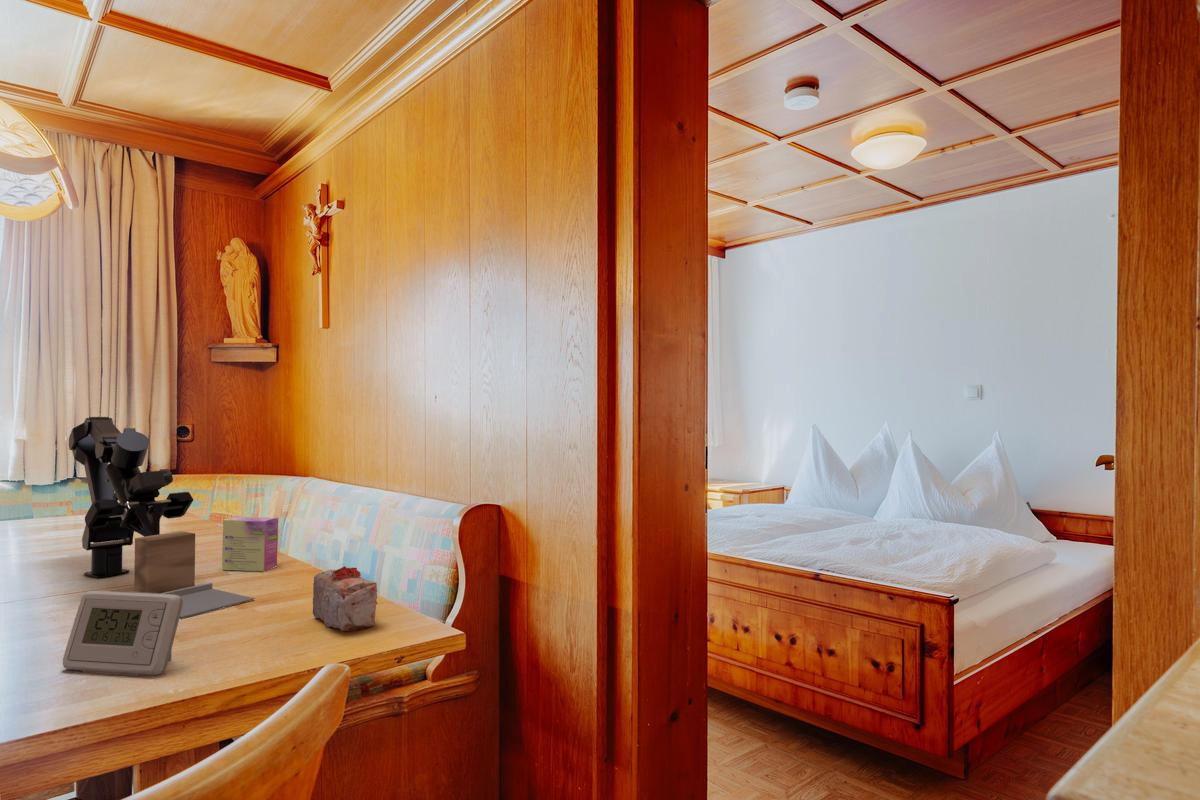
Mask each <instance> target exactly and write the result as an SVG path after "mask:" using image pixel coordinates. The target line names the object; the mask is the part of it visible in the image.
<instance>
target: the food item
mask: <svg viewBox="0 0 1200 800" xmlns="http://www.w3.org/2000/svg"><path fill="white" fill-rule="evenodd" d="M361 576H362V574H361V571H359V570H358V568H357V567H347V566H342V567H340V568H338V569H328V570H326V571H322V572H319V573H317V574H315V575H314V576H313V584H312V585H313V591H312V593H313V594H312V595H313V596H312V615H313V617H314V618H317V619H320V620H321V621H323V622H324V627H326V628H335V629H338V630H340V631H341V632H351V631H357V630H364V629H368V628H372V627H374V626H375V624H376V610H377V605H378V601H377V599H378V587H377V584H378V583H377V582H375V581H372V580H369V579H366V578H364V577H361Z"/></svg>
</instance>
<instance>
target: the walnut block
mask: <svg viewBox="0 0 1200 800" xmlns="http://www.w3.org/2000/svg"><path fill="white" fill-rule="evenodd" d="M133 574H134V578H133V584H134V585H133V586H134V587H133V592H148V593H165V592H169V591H174V590H178V589H183V588H187V587H192V586H196V584H195V583H196V579H195V578H196V577H195V576H196V575H195V574H196V533H194V532H188V531H183V530H179V531H174V532H168V533H167V532H166V533H160V534H159V535H152V536H146V537H144V536H140V537H135V538H134V573H133Z"/></svg>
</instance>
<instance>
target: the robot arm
mask: <svg viewBox="0 0 1200 800" xmlns="http://www.w3.org/2000/svg"><path fill="white" fill-rule="evenodd" d="M149 446H150V438H149V437H148V436H146V435H145V434H144V433H142V432H139V431H137V430H136V427H134V428H133V427H127V428H126V427H125V428H124V429H123V431H122V432H121V431H120V430H119V428H118V427H117V426H116V425H115V424H114V421H113V418H112V417H109V416H88V417H85V419H84V422H82V423H81V424H79V425H77V426H75V427H73V428H72V429H71V431H70V434H69V437H68V449H69V451H71V452H72V456H73V458H74V460H75V461H77V462H79V463H80V464H81V465H83V467H84V471H85V476H86V481H87V486H88V490H89V496H90V500H91V505H90V506H89V509H88V511H87V513H86V515H85V516H84V523H85V526H84V530H83V532H82V533H83V534H82V537H81V542H82V543H81V545H82V548H83V549H84V550H86V551H91V557H90V558H91V559H90V560H91V561H90V562H91V563H90V564H91V566H90V567H91V569H90V571H85V572H83V575H84V576H88V577H92V578H96V579H102V578H106V577H111V576H117V575H118V576H119V575H122V574H127V573H130V569H126V568H123V548H124V547H125V546H126V547H127V546H132V545H133V543H134V541H133V540H134V534H135V533H137V534H138V535H141V537H146V536H152V535H159V534H161V533H160V532H161V531H160V529H161V528H160V527H161V526H160V525H161V522H160V521H161V518H162V517H164V518H166V519H175V518H181V517H183V516H185V514H186V513H187V511H188V509H189V508H190V507H191V505H192V503H193V502H194V498H193V495H192V494H191V493H190V492H189V491H179V492H169V493H168V495H167V497H166V499H160V500H156V498H158V497H159V496H160V491H159V490H161V489H162V488H165V487H168V486H169V485H171V484H172V483H173V481H174V477H173V474H172V471H170V470H169V468H164V469H162V468H161V469H159V470H156V471H155V470H153V471H152V470H151V471H150V470H149V471H142V472H141V469H140V468H139V467H142V466H143V464H144V461H145V458H146V457H147V451H148V449H149Z"/></svg>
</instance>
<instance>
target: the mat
mask: <svg viewBox="0 0 1200 800" xmlns="http://www.w3.org/2000/svg"><path fill="white" fill-rule="evenodd" d="M160 594H170V595H178V596H180V597H182V599H183V605H182V610H181V614H180V618H179V619H181V620H183V618H184V619H187V618H190V617H194V616H199V615H203V614H205V613H206V612H207V613H210V612H209V611H211V612H213V611H212V610H215V611H217V610H216V609H219V608H223V607H227V606H230V605H234V606H236V605H235V604H238V603H242V602H246V601H250V600H253V599H255V600H256V598H255V597H250V596H246V595H241V594H237V593H234V592H229V591H225V590H220V589H215V588H213V583H212V582H207V583H202V584H198V585H195V586H192V587H187V588H183V589H178V590H174V591H169V592H165V593H160ZM250 602H251V601H250ZM246 603H247V602H246ZM242 604H243V603H242ZM238 605H239V604H238ZM230 607H231V606H230ZM227 608H228V607H227ZM223 609H224V608H223ZM219 610H220V609H219ZM202 613H203V614H202ZM186 617H187V618H186Z"/></svg>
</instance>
